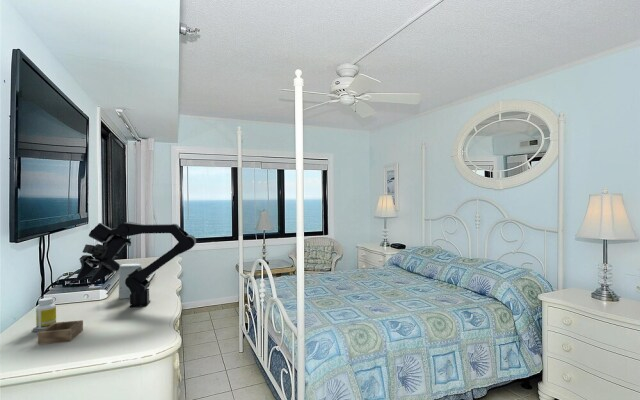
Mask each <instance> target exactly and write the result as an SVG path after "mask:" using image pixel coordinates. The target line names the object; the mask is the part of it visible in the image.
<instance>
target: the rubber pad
mask: <svg viewBox="0 0 640 400" xmlns="http://www.w3.org/2000/svg"><path fill="white" fill-rule="evenodd" d="M42 330H43V329H37V328H36V326H35V327H33V328H32V332H33V331H34V332H33V333H39V332H40V331H42Z"/></svg>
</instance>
